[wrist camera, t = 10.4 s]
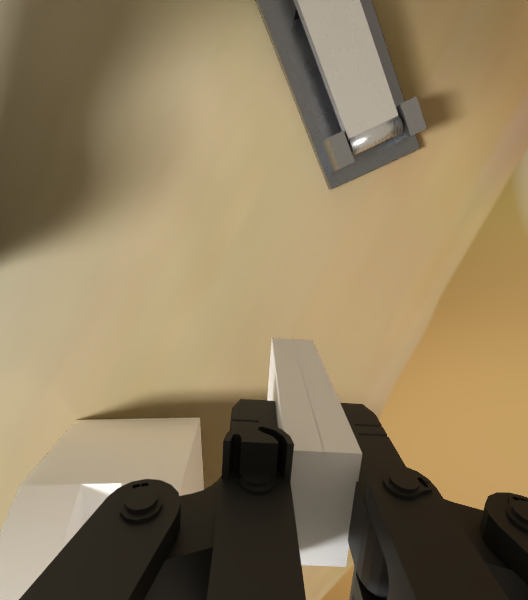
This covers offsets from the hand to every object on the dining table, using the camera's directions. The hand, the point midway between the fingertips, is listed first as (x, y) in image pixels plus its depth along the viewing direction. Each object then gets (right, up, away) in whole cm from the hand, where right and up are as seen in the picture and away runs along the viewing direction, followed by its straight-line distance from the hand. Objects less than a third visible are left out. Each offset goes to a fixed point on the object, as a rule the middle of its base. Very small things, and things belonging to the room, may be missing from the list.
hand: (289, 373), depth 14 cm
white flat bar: (+6, +26, +21) cm, 34 cm away
